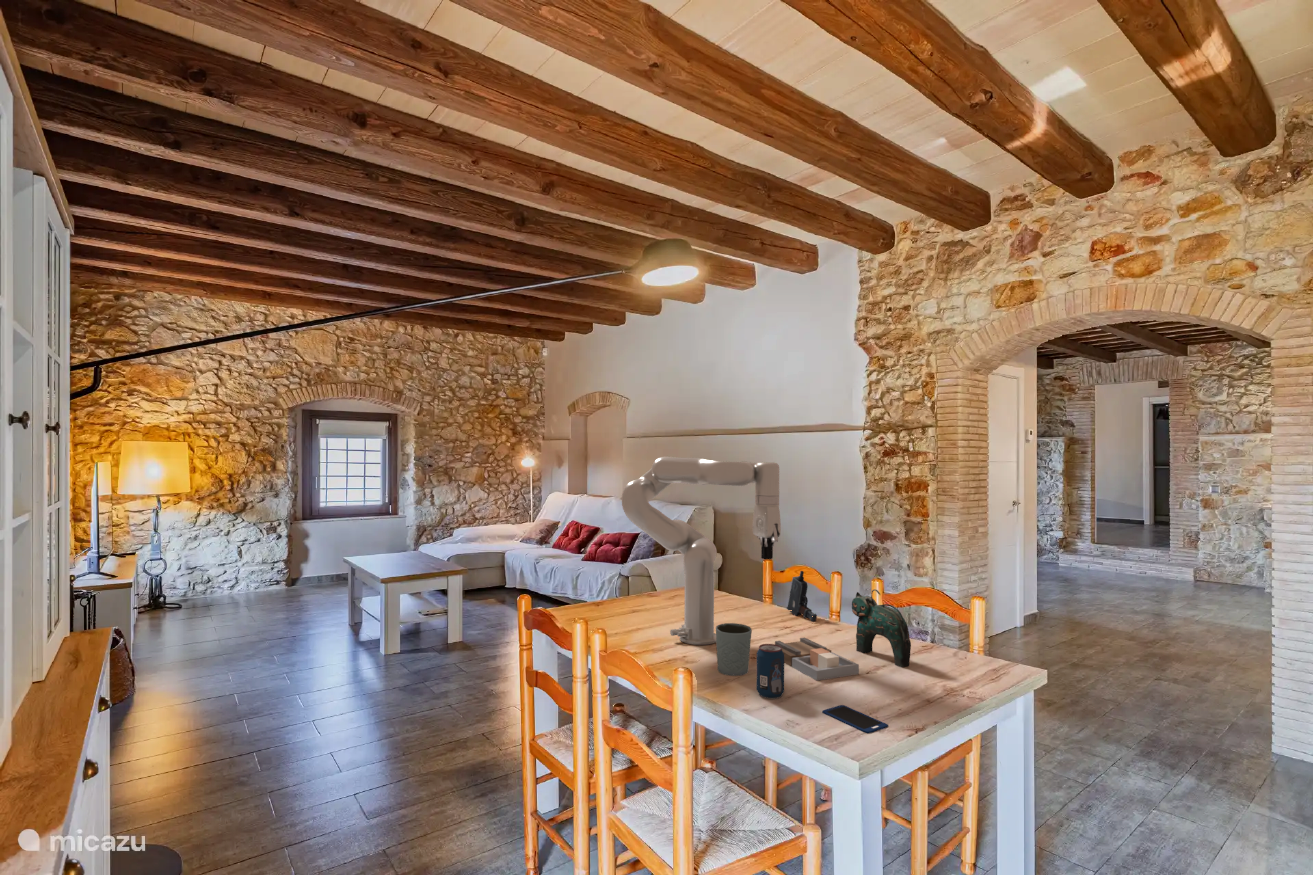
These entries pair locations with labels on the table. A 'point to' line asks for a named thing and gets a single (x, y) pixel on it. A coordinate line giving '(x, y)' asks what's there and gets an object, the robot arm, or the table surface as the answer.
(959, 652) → the table surface
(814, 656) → the terracotta block
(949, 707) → the table surface
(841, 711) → the cell phone
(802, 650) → the slot board
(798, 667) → the tray
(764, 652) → the soda can
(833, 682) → the table surface
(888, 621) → the ceramic cat
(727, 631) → the green cup
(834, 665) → the cream block
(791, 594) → the gun
